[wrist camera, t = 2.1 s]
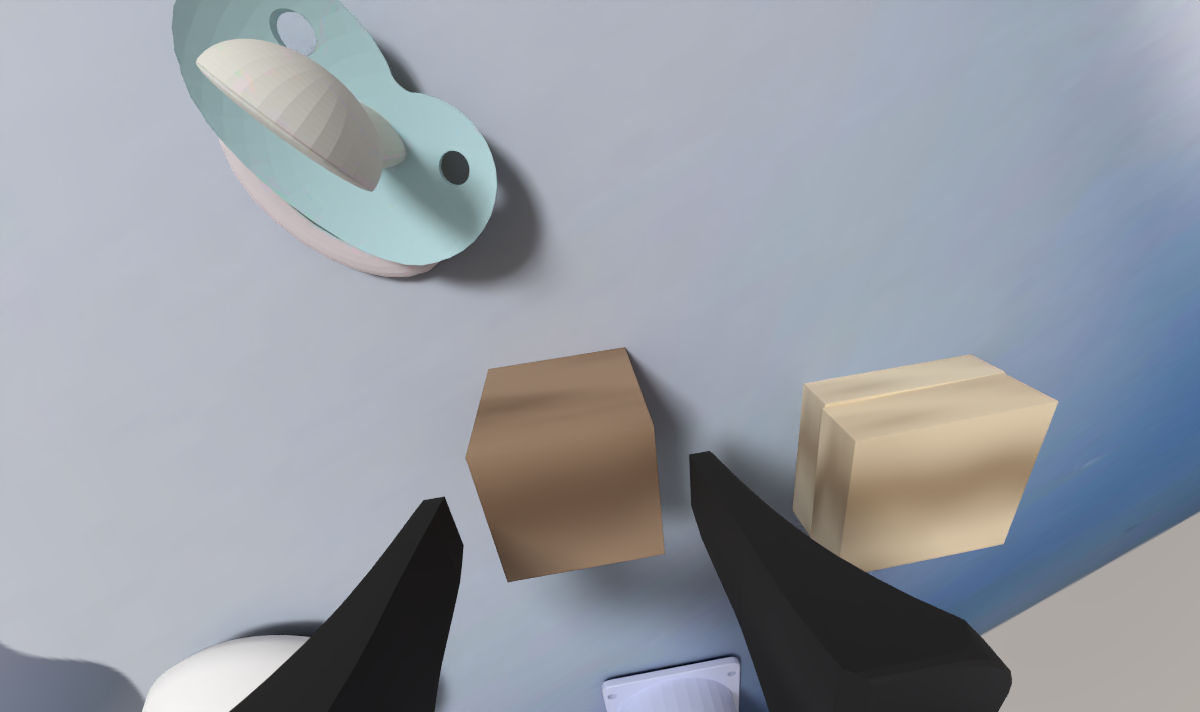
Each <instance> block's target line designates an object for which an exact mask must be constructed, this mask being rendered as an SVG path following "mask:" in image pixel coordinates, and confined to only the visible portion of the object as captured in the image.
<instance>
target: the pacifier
mask: <svg viewBox="0 0 1200 712" xmlns="http://www.w3.org/2000/svg"><path fill="white" fill-rule="evenodd" d="M285 12H296V13H298V14H300V15H301V16H303V17H304V18H305V19H306V20H307V21H308V22H309V24H310V25H311V27H312V28H313V30H314V32H315V35H316V38H317V47H316V50H315V51H314V53H313V54H312V55H309V56H304V55H302V54H300V53H298V52H296V51H294V50H292V49H289V48H287V47H286V46H285V44H284V43H283V42H282V40H281V39H280V36H279V34H278V31H277V25H276V24H277V19H278V17H279V16H280V15H281V14H282V13H285ZM172 31H173V39H174V50H175V53H176V56H177V59H178V62H179V64H180V69H181V74H182V76H183V79H184V81H185V84H186V86H187V89H188V91H189V94H190V96H191V98H192V100H193V101H194V103H195V104H196V106H197V107H198V109H199V110H200V112H201V113H202V115H203V117H204V118H205V120H206V122H207V123H208V124H209V126H210V127H211V128H212V129H213V131H214V132H215V133H216V134H217V136H218V137H219V139H220V145H221V147H222V149H223V151H224V153H225V155H226V158H227V160H228V162H229V164H230V166H231V168H232V170H233V172H234V174H235V175H236V176H237V178H238V179H239V181H240V182H241V183H242V185H243V186H244V187H245V189H246V190H247V192H248V193H249V194H250V196H251V197H252V199H253V200H254V201H255V202H256V203H257V204H258V205H259V206H260V207H261V208H262V209H263V210H264V211H265V212H266V213H267V214H268V215H269V216H270V217H271V218H272V219H273V220H274V221H275V222H276V223H277V224H279V225H280V226H281V227H282V228H284V229H285V230H286V231H288V232H289V233H290V234H292V235H293V236H294V237H295V238H297V239H298V240H299V241H301V242H302V243H303V244H305V245H307V246H308V247H310V248H312V249H313V250H315V251H317V252H319V253H320V254H322V255H324V256H326V257H327V258H329V259H331V260H333V261H335V262H338V263H340V264H343V265H345V266H348V267H350V268H353V269H355V270H358V271H361V272H365V273H370V274H375V275H380V276H384V277H412V276H415V275H418V274H421V273H424V272H427V271H429V270H431V269H432V268H433V267H434V266H435V265H436V264H438V263H439V262H440V261H441V260H444V259H448V258H450V257H452V256H454V255H456V254H458V253H460V252H462V251H463V250H464V249H466V248H467V247H468V246H469V245H470V244H472V243H473V242H474V241H475V240H476V238H477V237H478V236H479V235H480V233H481V232H482V231H483V230H484V228H485V226H486V224H487V223H488V221H489V219H490V217H491V215H492V212H493V209H494V206H495V202H496V196H497V185H498V183H497V173H496V166H495V162H494V159H493V156H492V154H491V151H490V149H489V147H488V144H487V142H486V141H485V139H484V137H483V136H482V134H481V133H480V132H479V130H478V129H477V128H476V127H475V125H474V124H473V123H472V122H471V121H470V120H469V119H468V118H467V117H466V116H465V115H463V114H462V113H461V112H460V111H458V110H457V109H456V108H454V107H453V106H451V105H449V104H447V103H446V102H444V101H442V100H440V99H437V98H434V97H431V96H428V95H426V94H422V93H416V92H415V93H412V92H409V91H407V90H405V89H403V88H402V87H401V86H400V85H399V84H398V83H397V82H396V81H395V80H394V78H393V75H392V72H391V70H390V68H389V66H388V63H387V61H386V59H385V57H384V56H383V54H382V52H381V51H380V49H379V47H378V46H377V44H376V43H375V41H374V39H373V38H372V37H371V36H370V34H369V33H368V32H367V30H366V29H365V28H364V27H363V25H362V24H361V23H360V22H359V20H358V19H357V18H356V17H355V16H354V15H353V14H352V13H351V12H350V11H349V10H348V9H347V8H346V7H345V6H344V5H343V4H342V3H341V2H340V1H339V0H176V2H175V4H174V9H173V20H172ZM449 151H457V152H459V153H461V154H462V155H463V156H464V157H465V158H466V159H467V161H468V164H469V169H470V172H469V177H468V179H467V181H466V182H465V183H464V184H461V185H455V184H452V183H450V182H449V181H448V180H447V179H446V178H445V177H444V175H443V172H442V169H441V162H442V159H443V157H444V155H445V154H446V153H447V152H449Z"/></svg>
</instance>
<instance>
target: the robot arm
mask: <svg viewBox="0 0 1200 712" xmlns="http://www.w3.org/2000/svg"><path fill="white" fill-rule="evenodd" d="M689 462H690V487H691V506H692V509H693V513H694V516H695V519H696V522H697V525H698V528H699V531H700V534H701V538H702V540H703V542H704V545H705V547H706V549H707V551H708V554H709V556H710V558H711V560H712V563H713V565H714V567H715V569H716V572H717V574H718V576H719V578H720V580H721V583H722V585H723V587H724V589H725V592H726V594H727V596H728V598H729V600H730V603H731V605H732V607H733V609H734V612H735V614H736V617H737V619H738V622H739V624H740V627H741V629H742V632H743V635H744V638H745V641H746V644H747V646H748V649H749V652H750V655H751V658H752V661H753V664H754V667H755V670H756V673H757V676H758V679H759V682H760V685H761V688H762V691H763V694H764V697H765V700H766V703H767V706H768V709H769V712H998V711H999V709H1000V707H1001V705H1002V704H1003V702H1004V700H1005V698H1006V697H1007V695H1008V693H1009V690H1010V687H1011V684H1012V677H1011V671H1010V670H1009V668H1008V667H1007V666H1006V665H1005V664H1004V663H1003V662H1002V660H1001V659H1000V658H999V657H998V656H997V655H996V653H995V652H994V651H993V650H992V649H991V647H990V646H989V645H988V644H987V643H986V642H985V641H984V639H983V638H982V637H981V636H980V635H979V634H978V633H977V632H976V631H975V630H974V629H973V628H972V627H971V626H970V625H969V624H968V623H967V622H966V621H965V620H963V619H961V618H959V617H957V616H954V615H952V614H950V613H948V612H945V611H943V610H941V609H939V608H937V607H934V606H932V605H930V604H928V603H925V602H923V601H921V600H919V599H917V598H914V597H912V596H910V595H908V594H906V593H904V592H902V591H900V590H898V589H896V588H894V587H892V586H891V585H889V584H887V583H885V582H883V581H881V580H879V579H877V578H875V577H873V576H872V575H870V574H868V573H866V572H865V571H863V570H861V569H859V568H858V567H856V566H854V565H853V564H851V563H849V562H847V561H846V560H844V559H842V558H841V557H839V556H837V555H836V554H834V553H833V552H831V551H829V550H828V549H826V548H825V547H823V546H822V545H820V544H819V543H817V542H816V541H814V540H813V539H811V538H810V537H809V536H807V535H806V534H804V533H803V532H802V531H800V530H799V529H797V528H796V527H795V526H793V525H792V524H791V523H789V522H788V521H787V520H786V519H784V518H783V517H782V516H781V515H779V514H778V513H777V512H776V511H774V510H773V509H772V508H771V507H770V506H768V505H767V504H766V503H765V502H764V501H762V500H761V499H760V498H759V497H758V496H757V495H756V494H754V493H753V492H752V491H751V490H750V489H749V488H748V487H747V486H746V485H744V484H743V483H742V482H741V481H740V480H739V479H738V478H737V477H736V476H735V475H734V474H733V473H732V472H731V471H730V470H729V469H728V468H727V467H726V466H725V465H724V464H723V463H722V462H721V461H720V460H719V459H718V458H717V457H716V456H715V455H714V454H713V453H711V452H710V451H707V452H701V453H695V454H690V455H689ZM463 546H464V545H463V543H462V540H461V538H460V535H459V533H458V530H457V527H456V525H455V522H454V520H453V517H452V515H451V512H450V510H449V507H448V504H447V502H446V499H445V497H440V498H434V499H428V500H423V502H422V503H421V504H420V505H419V507H418V508H417V509H416V511H415V512H414V513H413V515H412V516H411V517H410V519H409V520H408V521H407V523H406V524H405V525H404V527H403V528H402V529H401V531H400V532H399V534H398V535H397V536H396V538H395V539H394V540H393V542H392V543H391V544H390V546H389V547H388V548H387V549H386V551H385V552H384V553H383V555H382V556H381V557H380V558H379V560H378V561H377V562H376V564H375V565H374V566H373V567H372V569H371V570H370V571H369V572H368V574H367V575H366V576H365V577H364V578H363V580H362V581H361V582H360V583H359V584H358V586H357V587H356V588H355V589H354V590H353V592H352V593H351V594H350V595H349V596H348V598H347V599H346V600H345V601H344V602H343V603H342V604H341V606H340V607H339V608H338V609H337V610H336V611H335V612H334V613H333V614H332V615H331V617H330V618H329V619H328V620H327V621H326V622H325V623H324V624H323V625H322V626H321V627H320V628H319V629H318V630H317V631H316V632H315V633H314V634H313V635H312V636H311V637H310V638H309V639H308V640H307V641H306V642H305V643H304V644H303V645H302V646H301V647H300V648H299V649H298V650H297V651H296V652H295V653H294V654H293V655H292V656H291V657H290V658H289V659H287V660H286V661H285V662H284V663H283V664H282V665H281V666H280V667H279V668H278V669H277V670H276V671H275V672H274V673H273V674H272V675H271V676H270V677H268V678H267V679H266V680H265V681H264V682H263V683H262V684H261V685H259V686H258V687H257V688H256V689H255V690H254V691H253V692H251V693H250V694H249V695H248V696H247V697H246V698H245V699H243V700H242V701H241V702H240V703H239V704H238V705H236V706H235V707H234V708H233V709H232V710H230V711H229V712H434V711H435V703H436V695H437V688H438V682H439V676H440V671H441V666H442V661H443V657H444V652H445V648H446V643H447V639H448V634H449V630H450V626H451V621H452V617H453V612H454V608H455V603H456V598H457V594H458V589H459V584H460V578H461V569H462V558H463ZM739 684H740V664H739V662H738V659H737V658H735V657H727V658H721V659H716V660H711V661H706V662H700V663H695V664H690V665H685V666H679V667H674V668H669V669H664V670H658V671H653V672H648V673H643V674H637V675H632V676H627V677H622V678H616V679H611V680H607V681H605V682H604V683H603V684H602V692H603V697H604V701H605V706H606V710H607V712H739Z"/></svg>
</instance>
